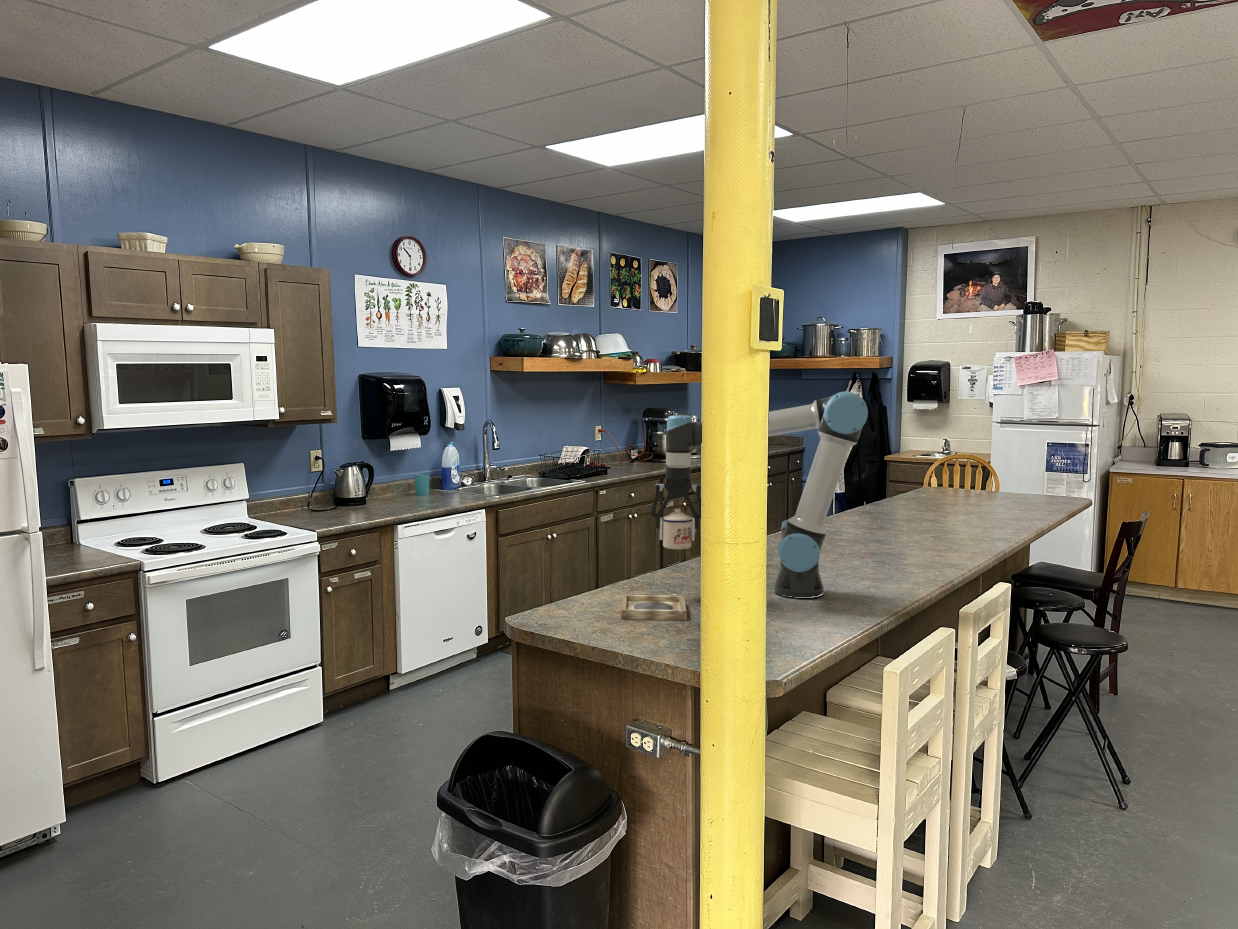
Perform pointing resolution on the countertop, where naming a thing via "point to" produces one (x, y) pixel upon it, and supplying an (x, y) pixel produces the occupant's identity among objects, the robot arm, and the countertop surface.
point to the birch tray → (653, 607)
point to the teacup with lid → (677, 530)
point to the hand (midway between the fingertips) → (676, 539)
